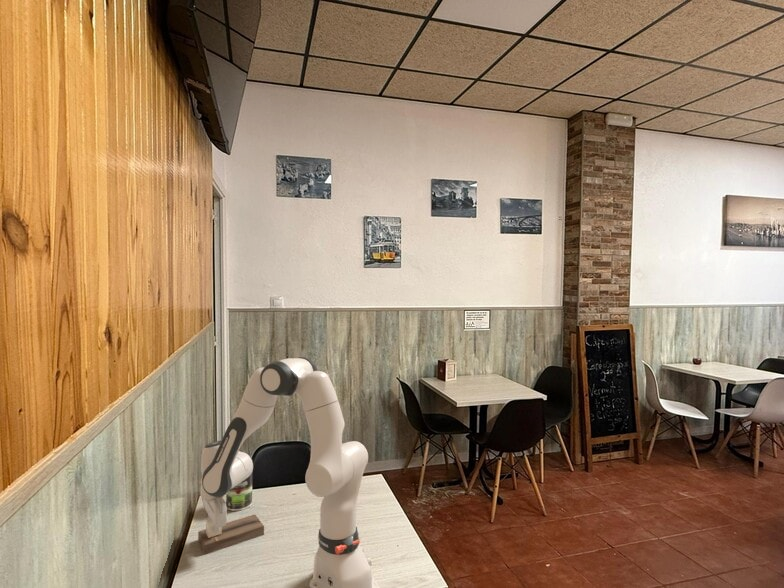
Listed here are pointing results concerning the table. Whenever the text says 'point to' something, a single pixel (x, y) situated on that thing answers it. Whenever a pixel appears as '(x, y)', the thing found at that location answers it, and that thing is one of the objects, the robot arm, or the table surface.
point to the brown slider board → (232, 534)
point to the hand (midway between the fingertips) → (213, 528)
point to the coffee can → (240, 496)
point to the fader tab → (209, 529)
